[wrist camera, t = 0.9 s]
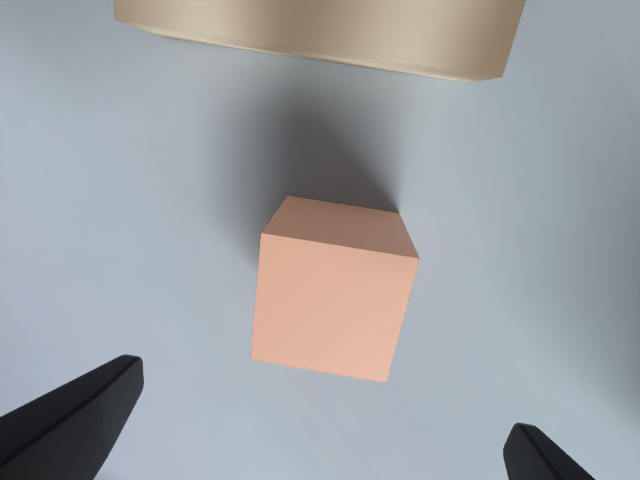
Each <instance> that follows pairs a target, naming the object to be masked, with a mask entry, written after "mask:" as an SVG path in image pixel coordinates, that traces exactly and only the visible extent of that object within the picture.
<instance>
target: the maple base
mask: <svg viewBox="0 0 640 480" xmlns="http://www.w3.org/2000/svg"><path fill="white" fill-rule="evenodd" d="M524 3H525V0H114V15H115V20H117V21H120V22H123V23H125V24H128V25H131V26H134V27H137V28H139V29H142V30H145V31H148V32H150V33H153V34H156V35H159V36H162V37H166V38H173V39H180V40H186V41H193V42H200V43H207V44H213V45H220V46H227V47H233V48H240V49H247V50H254V51H260V52H267V53H274V54H281V55H287V56H294V57H301V58H307V59H314V60H321V61H328V62H334V63H341V64H348V65H355V66H361V67H368V68H375V69H382V70H388V71H395V72H402V73H408V74H415V75H422V76H429V77H435V78H442V79H449V80H456V81H462V82H469V83H472V82H477V81H483V80H488V79H494V78H499V77H502V76H503V73H504V69H505V66H506V63H507V59H508V56H509V53H510V49H511V46H512V43H513V40H514V36H515V33H516V30H517V26H518V23H519V20H520V16H521V13H522V10H523V6H524Z"/></svg>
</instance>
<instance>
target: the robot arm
mask: <svg viewBox="0 0 640 480" xmlns="http://www.w3.org/2000/svg"><path fill="white" fill-rule="evenodd" d="M143 385H144V376H143V362H142V359H141V357H138V356H133V355H127V354H125V355H121V356H119V357H117V358H115V359H113V360H111V361H109V362H107V363H105V364H103V365H101V366H100V367H98V368H96V369H94V370H92V371H90V372H88V373H86V374H84V375H82V376H80V377H78V378H76V379H74V380H72V381H70V382H68V383H66V384H64V385H62V386H60V387H58V388H56V389H54V390H52V391H50V392H49V393H47V394H45V395H43V396H41V397H39V398H37V399H35V400H33V401H31V402H29V403H27V404H25V405H23V406H21V407H19V408H17V409H15V410H13V411H11V412H9V413H7V414H5V415H3V416H1V417H0V480H93V479H94V478H95V476H96V474H97V473H98V471H99V470H100V468H101V467H102V465H103V463H104V462H105V460H106V459H107V457H108V455H109V453H110V452H111V450H112V448H113V446H114V444H115V442H116V440H117V439H118V437H119V435H120V433H121V431H122V429H123V427H124V425H125V423H126V421H127V419H128V417H129V416H130V414H131V412H132V410H133V408H134V406H135V404H136V402H137V400H138V398H139V396H140V394H141V392H142V390H143ZM503 457H504V462H505V466H506V470H507V474H508V478H509V480H595V479H594V478H593V477H592V476H591V475H590V474H589V473H587V472H586V471H585V470H584V469H583V468H582V467H581V466H580V465H579V464H577V463H576V462H575V461H574V460H573V459H572V458H571V457H570V456H569V455H567V454H566V453H565V452H564V451H563V450H562V449H561V448H560V447H559V446H558V445H556V444H555V443H554V442H553V441H552V440H551V439H550V438H549V437H548V436H546V435H545V434H544V433H543V432H542V431H541V430H540V429H539V428H537V427H536V426H534V425H529V424H524V423H516V424H515V425H514V426H513V428H512V430H511V432H510V434H509V436H508V439H507V441H506V443H505V445H504V449H503Z"/></svg>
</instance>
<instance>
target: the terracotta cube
mask: <svg viewBox="0 0 640 480" xmlns="http://www.w3.org/2000/svg"><path fill="white" fill-rule="evenodd" d="M419 259H420V258H419V256H418V254H417V252H416V250H415V247H414V245H413V243H412V241H411V238H410V236H409V234H408V232H407V229H406V227H405V225H404V223H403V221H402V218H401V216H400V214H399V213H396V212H389V211H383V210H377V209H370V208H364V207H358V206H352V205H345V204H339V203H333V202H326V201H320V200H314V199H307V198H301V197H295V196H288V195H287V197H286V198H285V200H284V201H283V202H282V204H281V205H280V207H279V208H278V210H277V211H276V213H275V214H274V215H273V217H272V218H271V220H270V221H269V223H268V224H267V226H266V227H265V228H264V230H263V231H262V233H261V242H260V254H259V266H258V278H257V290H256V301H255V313H254V325H253V337H252V349H251V360H256V361H262V362H267V363H273V364H279V365H285V366H291V367H297V368H303V369H308V370H314V371H320V372H326V373H332V374H338V375H344V376H349V377H355V378H361V379H367V380H373V381H379V382H385V383H386V381H387V377H388V374H389V370H390V366H391V362H392V359H393V355H394V351H395V348H396V344H397V340H398V337H399V333H400V329H401V325H402V322H403V318H404V314H405V311H406V307H407V303H408V300H409V296H410V292H411V289H412V285H413V281H414V277H415V274H416V270H417V266H418V263H419Z"/></svg>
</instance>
